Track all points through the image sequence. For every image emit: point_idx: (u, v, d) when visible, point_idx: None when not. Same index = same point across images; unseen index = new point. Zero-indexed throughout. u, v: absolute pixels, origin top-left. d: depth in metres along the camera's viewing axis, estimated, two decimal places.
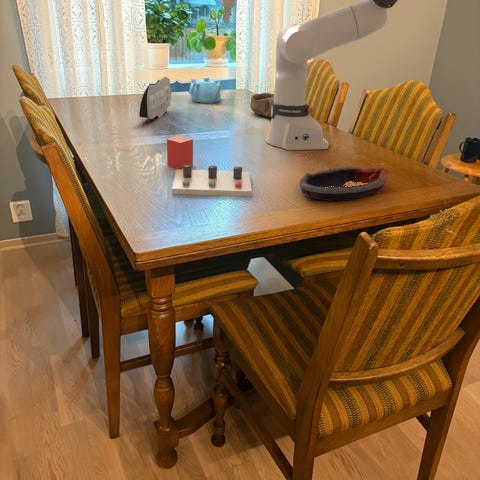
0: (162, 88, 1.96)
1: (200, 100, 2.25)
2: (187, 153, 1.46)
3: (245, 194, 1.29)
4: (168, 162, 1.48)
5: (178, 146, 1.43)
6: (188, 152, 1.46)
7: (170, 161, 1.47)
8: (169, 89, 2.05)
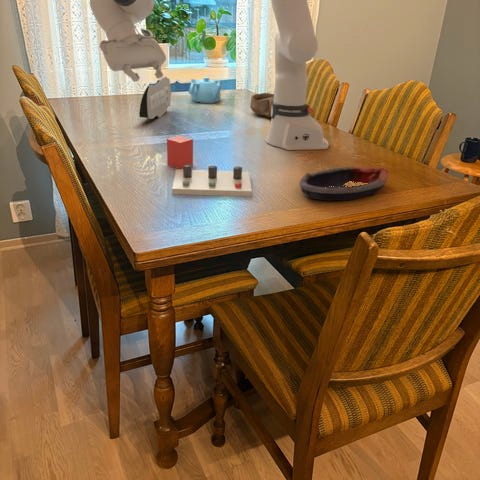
0: (162, 88, 1.96)
1: (200, 100, 2.25)
2: (187, 153, 1.46)
3: (245, 194, 1.29)
4: (168, 162, 1.48)
5: (178, 146, 1.43)
6: (188, 152, 1.46)
7: (170, 161, 1.47)
8: (169, 89, 2.05)
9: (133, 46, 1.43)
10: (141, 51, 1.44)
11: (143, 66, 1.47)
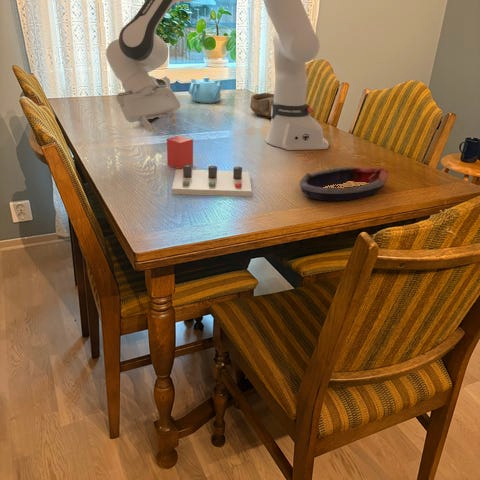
0: None
1: (200, 100, 2.25)
2: (187, 153, 1.46)
3: (245, 194, 1.29)
4: (168, 162, 1.48)
5: (178, 146, 1.43)
6: (188, 152, 1.46)
7: (170, 161, 1.47)
8: None
9: (149, 96, 1.47)
10: (156, 101, 1.48)
11: (158, 115, 1.50)
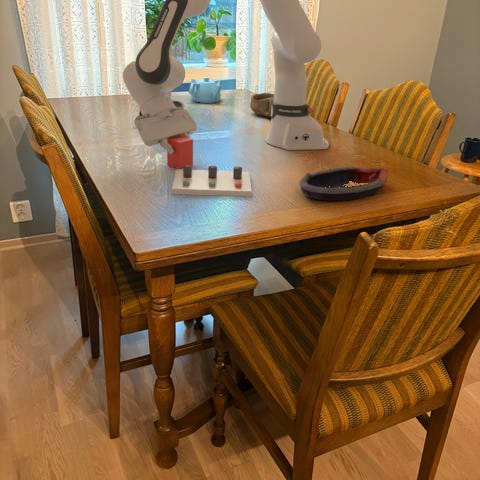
0: None
1: (200, 100, 2.25)
2: (187, 153, 1.46)
3: (245, 194, 1.29)
4: (168, 162, 1.48)
5: (178, 146, 1.43)
6: (188, 152, 1.46)
7: (170, 161, 1.47)
8: None
9: (166, 119, 1.45)
10: (173, 123, 1.46)
11: None
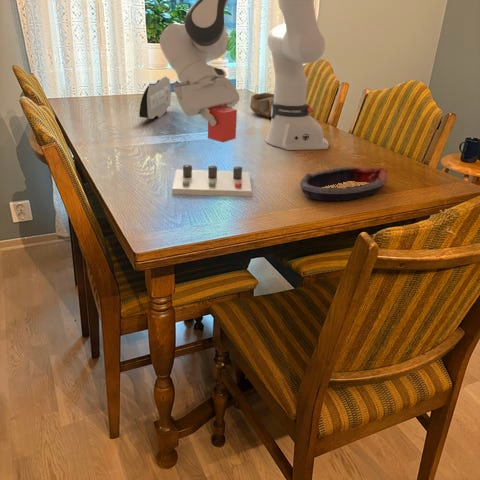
0: (162, 88, 1.96)
1: None
2: (230, 125, 1.32)
3: (245, 194, 1.29)
4: (209, 135, 1.34)
5: (221, 116, 1.29)
6: (231, 124, 1.32)
7: (211, 134, 1.33)
8: (169, 89, 2.05)
9: (207, 87, 1.32)
10: (215, 92, 1.33)
11: None
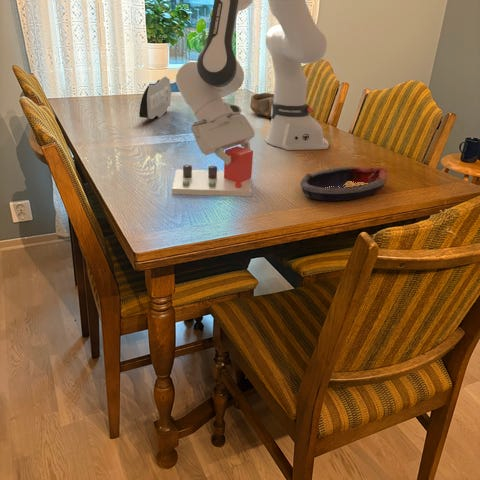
0: (162, 88, 1.96)
1: None
2: (246, 166, 1.34)
3: (245, 194, 1.29)
4: (225, 175, 1.36)
5: (237, 158, 1.31)
6: (247, 165, 1.34)
7: (227, 174, 1.35)
8: (169, 89, 2.05)
9: (223, 125, 1.33)
10: (231, 130, 1.34)
11: (232, 145, 1.36)
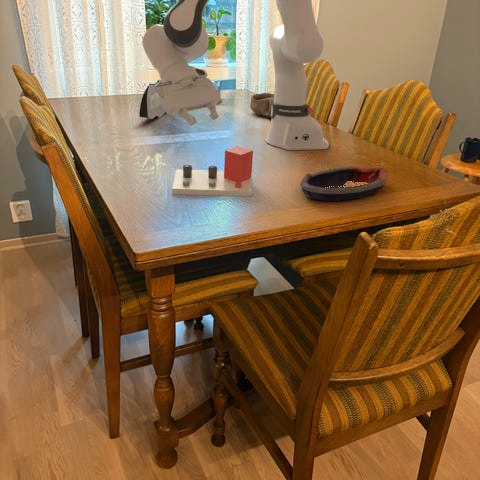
0: None
1: None
2: (246, 166, 1.34)
3: (245, 194, 1.29)
4: (225, 175, 1.36)
5: (237, 158, 1.31)
6: (247, 165, 1.34)
7: (227, 174, 1.35)
8: None
9: (188, 87, 1.36)
10: (196, 92, 1.37)
11: (198, 107, 1.39)
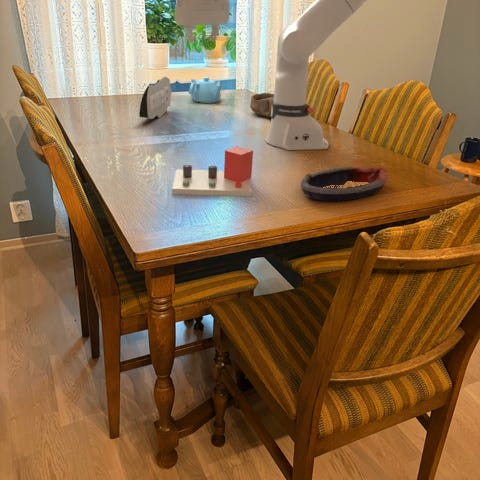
0: (162, 88, 1.96)
1: (200, 100, 2.25)
2: (246, 166, 1.34)
3: (245, 194, 1.29)
4: (225, 175, 1.36)
5: (237, 158, 1.31)
6: (247, 165, 1.34)
7: (227, 174, 1.35)
8: (169, 89, 2.05)
9: (206, 4, 1.39)
10: (210, 12, 1.41)
11: None
